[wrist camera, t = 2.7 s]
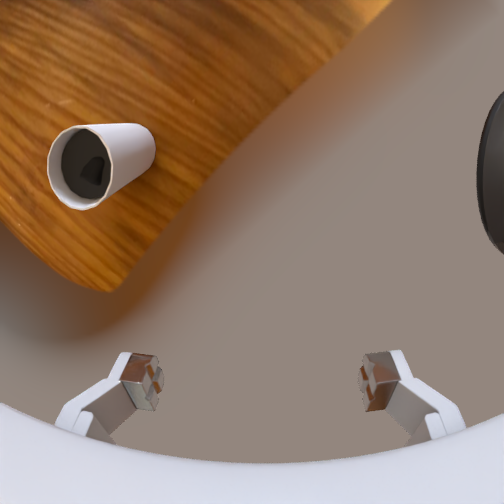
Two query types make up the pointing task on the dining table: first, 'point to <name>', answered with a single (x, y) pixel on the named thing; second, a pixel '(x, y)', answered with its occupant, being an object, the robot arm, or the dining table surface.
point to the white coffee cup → (97, 161)
